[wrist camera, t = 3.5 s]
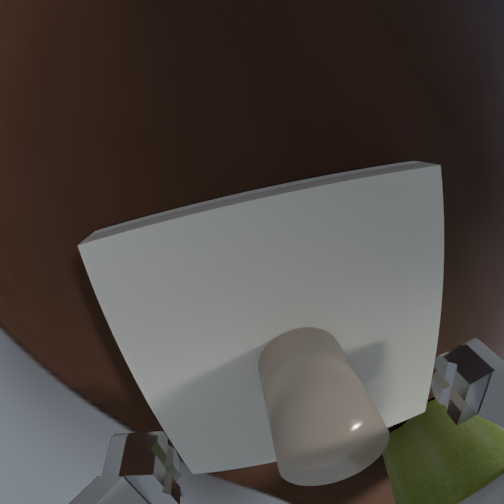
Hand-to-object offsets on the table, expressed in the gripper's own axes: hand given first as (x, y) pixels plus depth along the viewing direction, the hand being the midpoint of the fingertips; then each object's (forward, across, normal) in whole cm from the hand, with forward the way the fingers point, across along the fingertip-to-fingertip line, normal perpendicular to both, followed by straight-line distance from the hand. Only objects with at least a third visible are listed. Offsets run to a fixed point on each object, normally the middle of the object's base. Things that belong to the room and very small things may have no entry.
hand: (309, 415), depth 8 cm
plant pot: (+4, -7, +10) cm, 13 cm away
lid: (+3, 0, 0) cm, 3 cm away
